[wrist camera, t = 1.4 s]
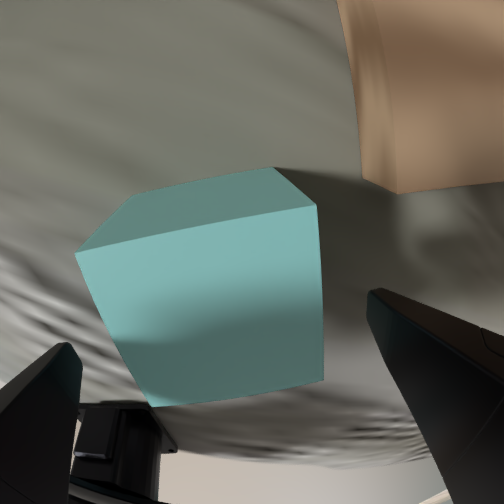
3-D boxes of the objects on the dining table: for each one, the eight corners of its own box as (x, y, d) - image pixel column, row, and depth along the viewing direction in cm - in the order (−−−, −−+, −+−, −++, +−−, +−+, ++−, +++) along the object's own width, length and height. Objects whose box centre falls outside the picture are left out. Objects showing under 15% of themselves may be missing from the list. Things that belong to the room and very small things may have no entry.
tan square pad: (497, 166, 13) (532, 178, 10) (362, 177, 13) (397, 194, 10) (478, 10, 9) (512, 4, 6) (329, -27, 8) (355, -55, 6)
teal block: (287, 289, 15) (323, 380, 9) (168, 311, 15) (151, 406, 9) (272, 166, 12) (316, 204, 7) (132, 194, 12) (74, 253, 7)
